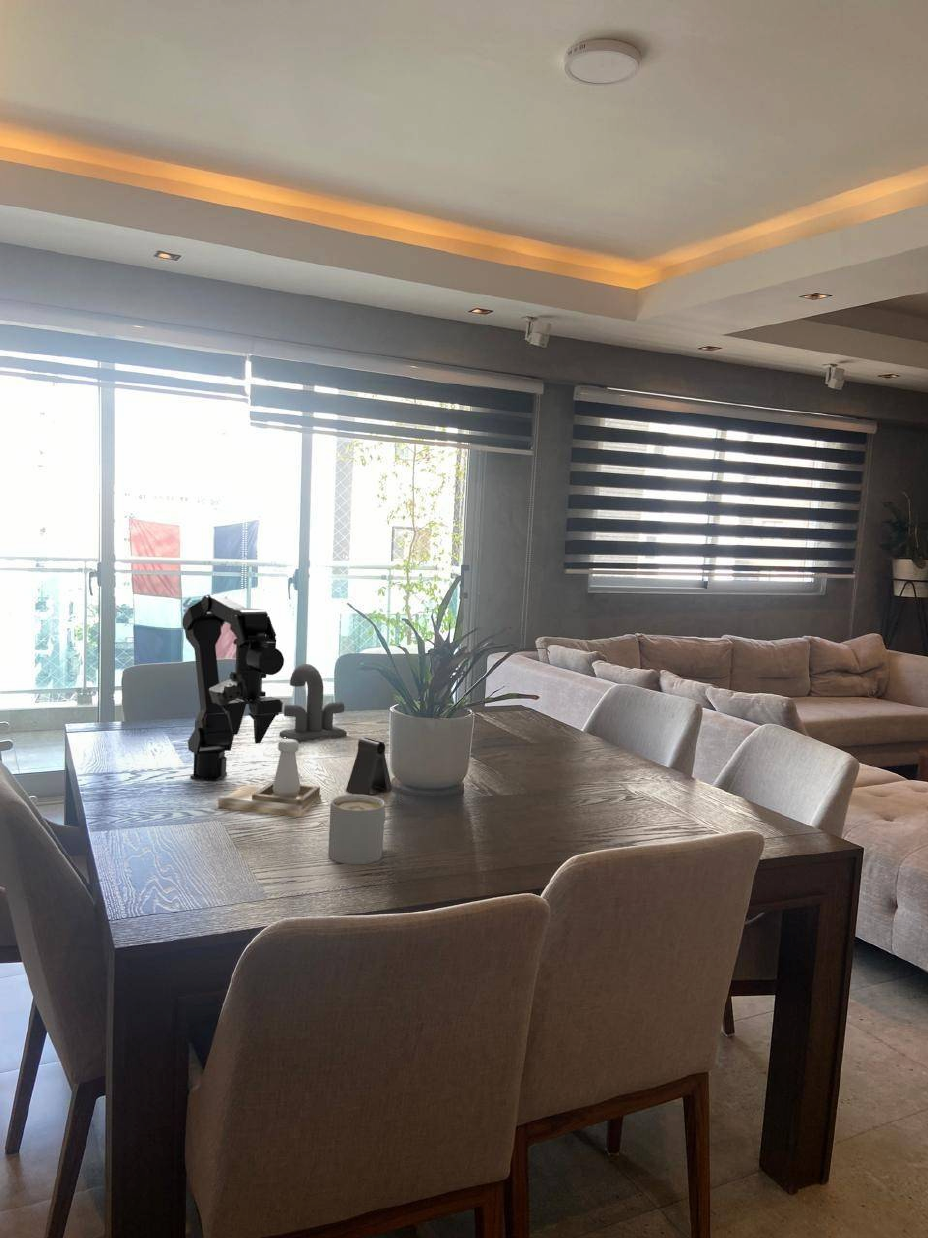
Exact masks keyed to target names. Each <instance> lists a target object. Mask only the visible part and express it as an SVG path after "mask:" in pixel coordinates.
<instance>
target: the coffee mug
mask: <svg viewBox="0 0 928 1238" xmlns="http://www.w3.org/2000/svg"><path fill="white" fill-rule="evenodd" d="M385 804H386V803H385V801H384V799H382V798H379V797H377V796H375V795H374V796H369V795H355V794H344V795H338V796H336V797H334V798H331V801H330V808H329V809H330V810H329V813H330V814H329V830H328V850H327V851H328V853H327V855H328V857H329V858H330V859H331V860H332V861H334V862H337V863H340V864H346V865H368V864H371V863H372V862H373V863H375V861H376V862H377V860H378V861H380V860H381V859H382V857H383V847H384V832H385V831H384V829H385V827H384V826H385V821H386V805H385ZM380 858H381V859H380Z"/></svg>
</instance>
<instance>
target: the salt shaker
mask: <svg viewBox="0 0 928 1238" xmlns="http://www.w3.org/2000/svg"><path fill="white" fill-rule="evenodd" d="M299 743H300V742H297V741H296V740H294V739H285V738H283V739H281V740H279V742H278V745H277V749H278V751H279V752H280V754H279V759H278V762H277V767H276V770H275V775H274V780H273V782H274V784H273V792H274V795H275V796H280V797H288V798H297V795H298V793H299V791H300V785H301V784H300V777H299V770H298V764H297V756H296V753H297V752H298V750H299V748H300V747H299V746H300V745H299Z"/></svg>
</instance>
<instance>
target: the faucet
mask: <svg viewBox="0 0 928 1238" xmlns="http://www.w3.org/2000/svg"><path fill="white" fill-rule="evenodd" d="M290 676H291V677H290V680H289V685H290V686H291V687H304V686H307V696H306V697H307V698H306V699H307V700H306V709H305V708H304V707H302V706H301V705H299V704H284V707H283V708H284V709H283V716H284V717H293V718H295V720H294V724H295V725H294V728H293V729H292V728H291V729H284V730H281V731H279V733H278V734H279V737H280V736H281V738H283V737H286V738H288V739H294V740H296V741H297V742H298V743H301V741H303V742H308V741H307V740H311V741H316V740H315V739H319V740H322V739H321V738H327V739H330V738H329V737H335V738H342V737H347V736H348V732H347V731H346V730H345V729H342V728H340V727H337V726H335V725H334V714H335V715H336V714H342V713H344V711H345V704H344V702H343V701H335V702H334V701H333V702H329V703H327V704H326V705H325V706H323V705H324V683H323V678H322V676H321V673H320V672H319V670H318V669H317V668H316V667H315V666H313V665H312V664H310V663H309V664H307V663H302V664H300V665H298V666H297V667H296V668H295V669H294V670H293V672H292V673H291V675H290Z"/></svg>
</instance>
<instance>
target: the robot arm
mask: <svg viewBox="0 0 928 1238" xmlns="http://www.w3.org/2000/svg"><path fill="white" fill-rule="evenodd" d="M181 622H182V628H183V629H184V634H185V639H186V641H187V642H188V643H189V644H190V645H191V646H192V648H193V650H194V659H195V668H196V678H197V686H198V687H197V688H198V696H199V697H198V698H199V699H198V700H199V706H200V708H199V709H200V711H199V713H198V714H197V716H196V718H195V720H194V730H193V732H192V734H191V735H190V736H189V738H188V739H187V740H188V741H187V746H188V751H190V752H191V753H193V774H191V775H190V776H189V778H190V779H197V780H207V781H214V782H215V781H218V780H220V779H221V778H223V777H225V776H227V775H228V772H227V759H228V758H227V757H226V751H228V752H230V751H231V750H232V746H233V742H234V737H235V736H236V735H238V734H239V732H240V728H241V725H242V721H243V718H244V714H245V711H246V708H247V705H248V709H249V712H248V713H247V715H249V716H250V718H251V719H252V721H253V732H254V733H253V734H254V743H255V744H256V745H257V744H261V742H262V741H263V738H264V736H265V735H266V733H267V731H268V729H269V728H270V726H271V724H272V722H273V721H274V720H275V718H276V716H279V714H280V713H284V709H283V708H284V704H283V701H282V700H281V699H280V698H276V697H273V696H266V691H264V690H263V689H262V688H263V679H266V678H267V675H268V676H273V675H277V673H279V672H280V671H282V668H283V667H284V664H285V657H284V655H283V653H282V652H281V651H280V650H279V649H278V648H277V638H276V636H277V634H276V631H275V629H274V627H273V623H272V620H271V618H270V616H269V614H268V613H267V611H266V610H265V609H259V608H247V607H244V606H243V605H241V604H239V603H237V602H235V601H233V600H231V599H230V598H228V597H227V595H224V594H207V595H204V596H202V598H201V600H200V601H198V602H196V603H195V604H193V605H191V606H190V607H188V608H187V610H186V611H185V613H184V615H183V617H182V621H181ZM225 623H227V624H229V625H230V627H229V630H230V631H231V632H232V633H233V634H234V636H235V639H234V640H233V645H234V646H235V648H236V649H235V665H234V667H235V670H233V671H231V672H230V674H229V679H227V680H224V681H221V682H220V677H219V667H218V658H217V647H216V645H217V644H218V641H219V639H220V637H221V635H222V627H223V625H225Z"/></svg>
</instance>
